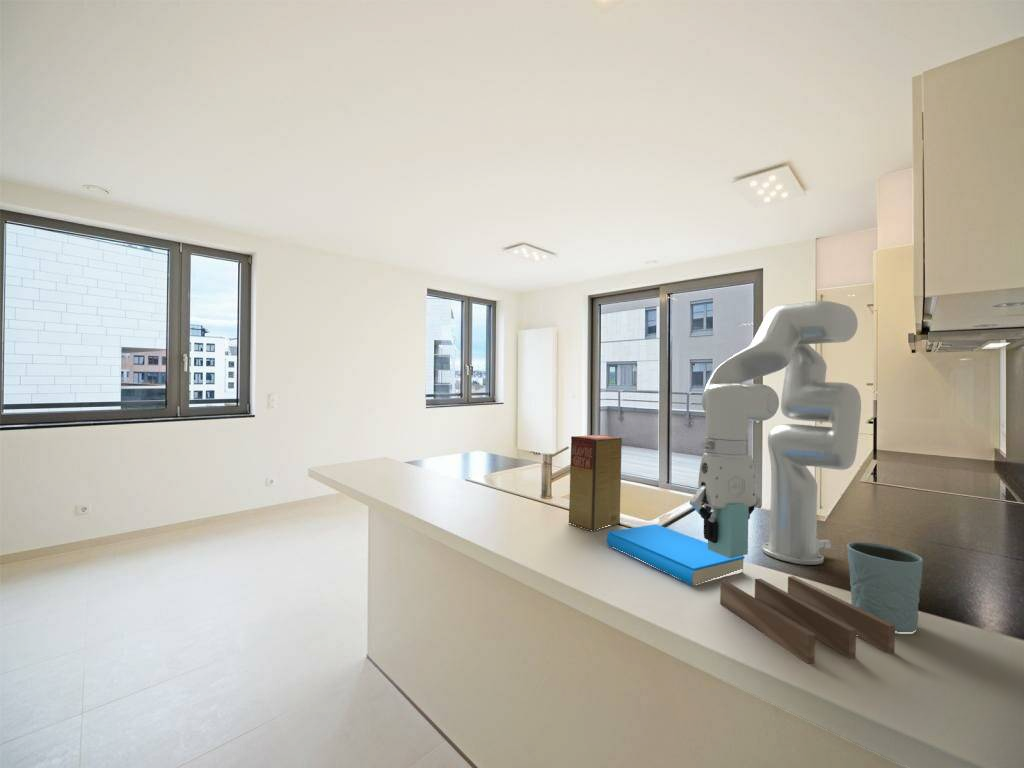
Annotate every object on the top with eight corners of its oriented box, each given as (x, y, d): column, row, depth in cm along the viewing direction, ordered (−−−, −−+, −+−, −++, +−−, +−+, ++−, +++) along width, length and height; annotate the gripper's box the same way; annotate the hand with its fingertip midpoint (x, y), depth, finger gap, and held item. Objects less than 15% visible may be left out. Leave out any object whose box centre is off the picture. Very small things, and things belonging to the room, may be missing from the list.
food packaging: (595, 516, 136) (598, 434, 136) (621, 523, 129) (624, 437, 129) (566, 523, 127) (569, 435, 127) (593, 532, 120) (596, 439, 120)
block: (724, 545, 90) (725, 496, 90) (747, 554, 85) (748, 502, 85) (707, 549, 88) (708, 498, 88) (730, 558, 83) (731, 505, 83)
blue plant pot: (900, 642, 70) (902, 565, 70) (832, 611, 79) (833, 544, 79) (934, 630, 74) (936, 558, 74) (866, 603, 83) (867, 538, 83)
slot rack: (792, 597, 84) (793, 576, 84) (894, 652, 67) (895, 625, 67) (720, 603, 81) (720, 581, 81) (807, 663, 63) (808, 635, 63)
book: (655, 523, 118) (745, 554, 96) (654, 540, 117) (745, 574, 96) (605, 531, 109) (693, 567, 87) (605, 549, 109) (692, 589, 87)
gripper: (700, 451, 81) (698, 550, 81) (778, 449, 85) (777, 543, 85) (676, 445, 89) (674, 536, 89) (749, 443, 93) (747, 530, 93)
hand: (724, 538), depth 87 cm, fingers closed on block, 5 cm apart
